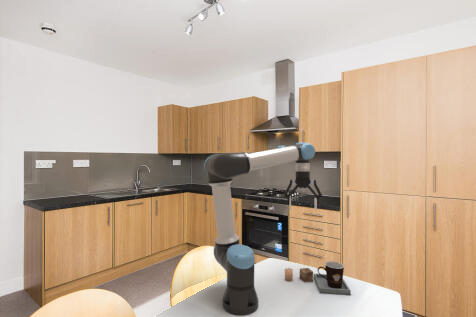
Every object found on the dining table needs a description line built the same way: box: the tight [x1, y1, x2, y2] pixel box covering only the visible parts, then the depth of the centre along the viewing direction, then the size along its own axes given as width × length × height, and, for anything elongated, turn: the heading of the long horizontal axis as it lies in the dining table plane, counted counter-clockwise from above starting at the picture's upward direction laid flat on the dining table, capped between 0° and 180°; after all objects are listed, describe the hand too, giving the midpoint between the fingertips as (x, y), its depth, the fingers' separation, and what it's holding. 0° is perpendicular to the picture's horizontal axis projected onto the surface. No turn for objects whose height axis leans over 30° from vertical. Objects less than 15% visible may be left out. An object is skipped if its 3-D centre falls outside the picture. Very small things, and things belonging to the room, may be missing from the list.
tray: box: [313, 273, 352, 296], centre depth 120 cm, size 14×16×2 cm
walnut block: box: [299, 267, 314, 284], centre depth 127 cm, size 5×5×5 cm
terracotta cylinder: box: [284, 267, 294, 282], centre depth 127 cm, size 4×4×5 cm
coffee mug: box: [316, 261, 345, 289], centre depth 120 cm, size 12×9×10 cm
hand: (302, 209), depth 134 cm, fingers open, 13 cm apart
